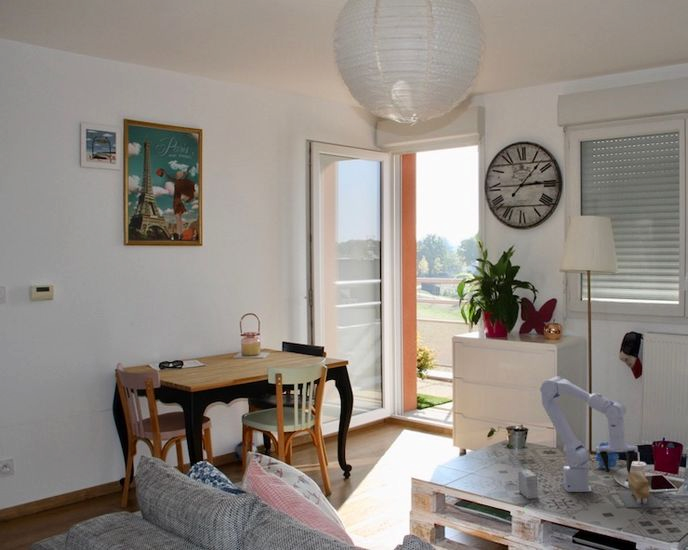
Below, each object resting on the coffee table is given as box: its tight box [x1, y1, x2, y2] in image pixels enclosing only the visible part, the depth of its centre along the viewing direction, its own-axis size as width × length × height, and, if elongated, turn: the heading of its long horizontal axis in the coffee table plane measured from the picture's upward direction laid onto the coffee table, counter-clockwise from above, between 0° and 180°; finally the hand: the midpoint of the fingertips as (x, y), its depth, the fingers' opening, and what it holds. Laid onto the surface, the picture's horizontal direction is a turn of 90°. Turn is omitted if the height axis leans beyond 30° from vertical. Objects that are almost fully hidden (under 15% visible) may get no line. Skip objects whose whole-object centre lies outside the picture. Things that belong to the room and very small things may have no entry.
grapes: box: [594, 441, 620, 470], centre depth 307 cm, size 12×7×12 cm, turn 31°
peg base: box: [616, 490, 663, 509], centre depth 270 cm, size 12×16×3 cm
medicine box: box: [518, 469, 539, 500], centre depth 282 cm, size 8×4×9 cm, turn 9°
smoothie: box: [630, 451, 647, 478], centre depth 283 cm, size 6×6×14 cm
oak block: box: [627, 471, 650, 498], centre depth 270 cm, size 4×12×6 cm, turn 172°
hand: (617, 471), depth 276 cm, fingers open, 7 cm apart
